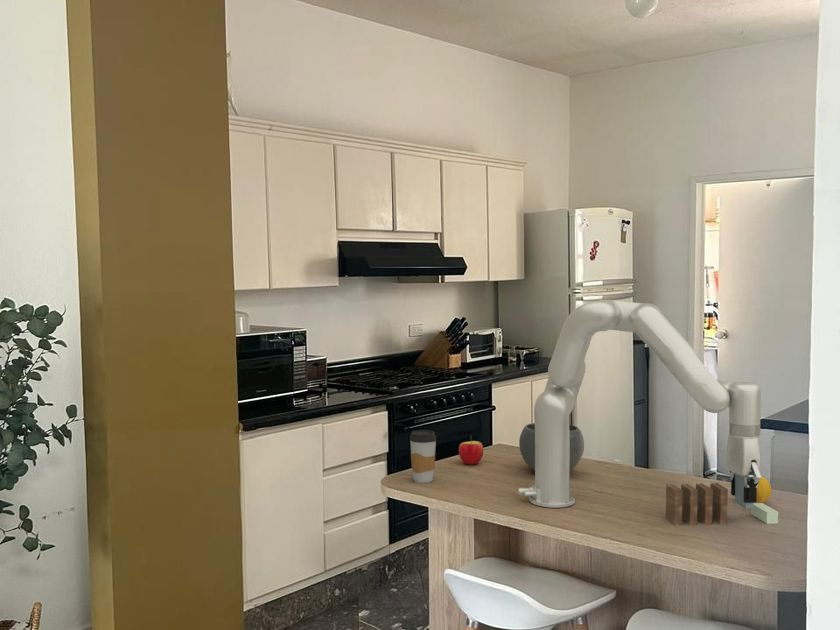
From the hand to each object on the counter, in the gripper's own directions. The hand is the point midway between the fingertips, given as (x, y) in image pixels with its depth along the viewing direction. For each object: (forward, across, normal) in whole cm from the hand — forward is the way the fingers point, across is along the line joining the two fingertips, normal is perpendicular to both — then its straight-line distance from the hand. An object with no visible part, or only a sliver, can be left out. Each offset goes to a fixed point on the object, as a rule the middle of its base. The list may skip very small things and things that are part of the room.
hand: (743, 498), depth 208 cm
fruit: (+6, -14, +10) cm, 18 cm away
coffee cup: (+5, -46, -80) cm, 92 cm away
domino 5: (+2, 0, 0) cm, 2 cm away
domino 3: (+6, 0, -11) cm, 12 cm away
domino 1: (+6, 0, -19) cm, 20 cm away
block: (+6, 0, +6) cm, 8 cm away
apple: (+5, -66, -62) cm, 91 cm away
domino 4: (+6, 0, -7) cm, 9 cm away
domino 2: (+6, 0, -15) cm, 16 cm away
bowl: (+5, -52, -38) cm, 65 cm away
